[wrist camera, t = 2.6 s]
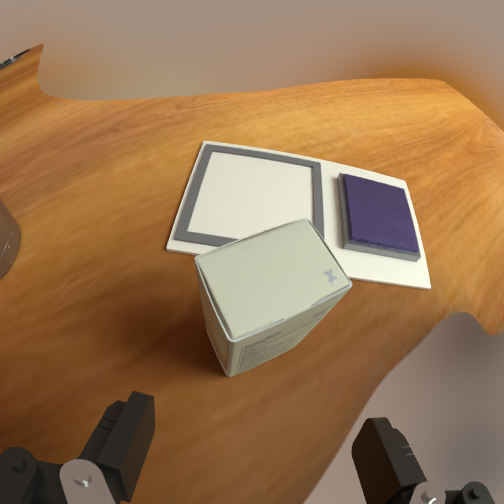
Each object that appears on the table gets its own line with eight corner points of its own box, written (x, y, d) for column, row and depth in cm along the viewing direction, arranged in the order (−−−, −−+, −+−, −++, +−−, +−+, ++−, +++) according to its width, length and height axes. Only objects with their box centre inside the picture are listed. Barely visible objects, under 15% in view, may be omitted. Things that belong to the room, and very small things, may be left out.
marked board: (166, 250, 27) (165, 246, 26) (204, 143, 35) (204, 138, 35) (429, 289, 27) (432, 287, 27) (404, 183, 36) (406, 179, 35)
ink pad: (342, 249, 28) (348, 240, 27) (336, 178, 34) (340, 169, 32) (416, 262, 29) (423, 254, 27) (400, 194, 34) (406, 186, 33)
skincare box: (272, 303, 25) (312, 211, 15) (296, 347, 23) (360, 283, 13) (201, 331, 23) (189, 252, 13) (223, 380, 21) (230, 344, 11)
